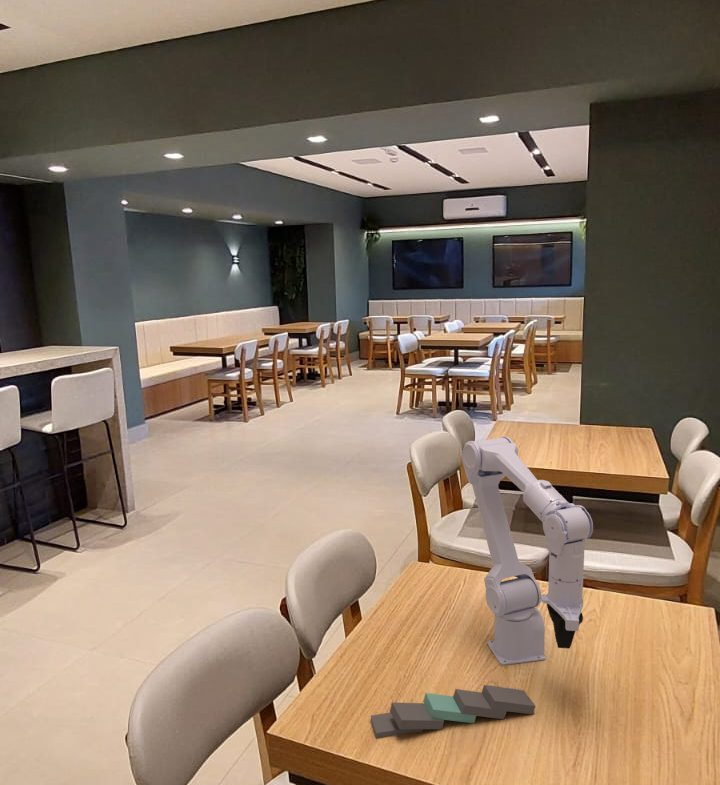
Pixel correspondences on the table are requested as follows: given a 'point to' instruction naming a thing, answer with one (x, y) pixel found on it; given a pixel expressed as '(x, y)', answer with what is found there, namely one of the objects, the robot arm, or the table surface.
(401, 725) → the domino
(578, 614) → the robot arm
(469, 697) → the domino
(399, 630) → the table surface
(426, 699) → the teal domino
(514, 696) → the domino
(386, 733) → the domino
